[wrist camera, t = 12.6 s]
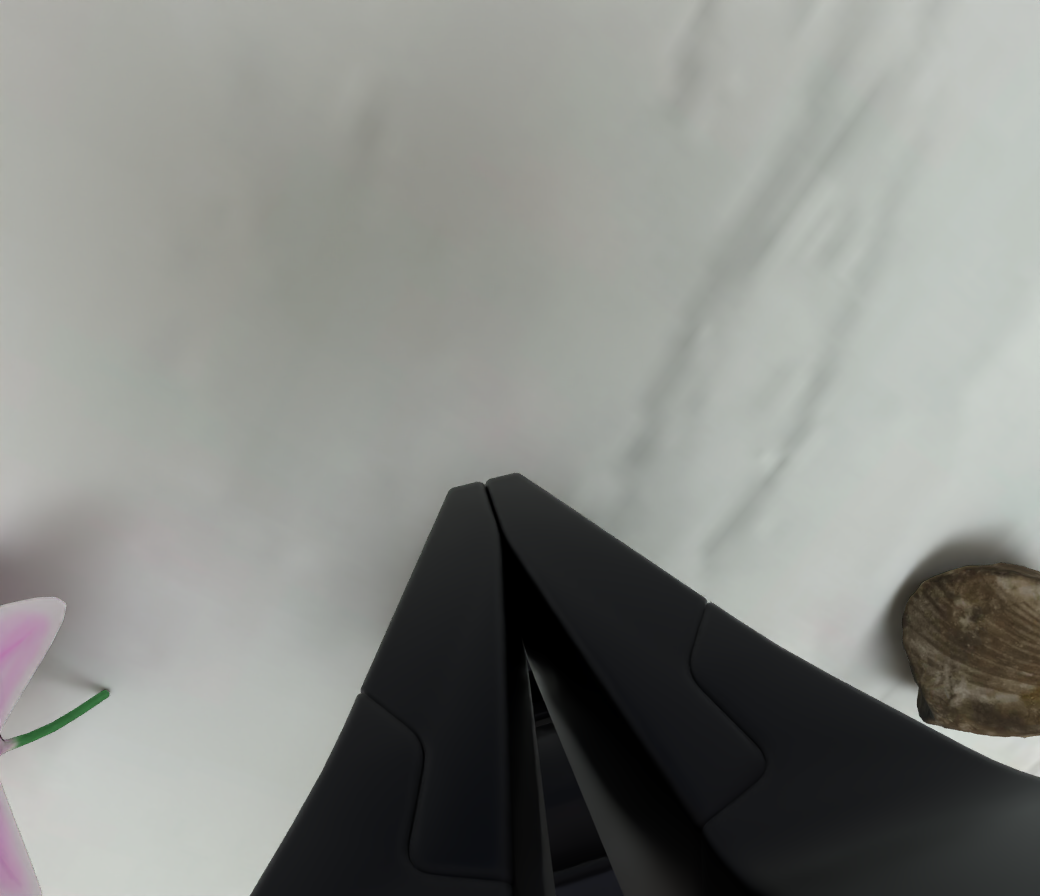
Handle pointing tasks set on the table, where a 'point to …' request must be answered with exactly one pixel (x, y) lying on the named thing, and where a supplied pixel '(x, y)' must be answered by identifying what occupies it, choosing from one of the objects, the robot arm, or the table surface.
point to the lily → (3, 677)
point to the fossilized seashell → (977, 649)
